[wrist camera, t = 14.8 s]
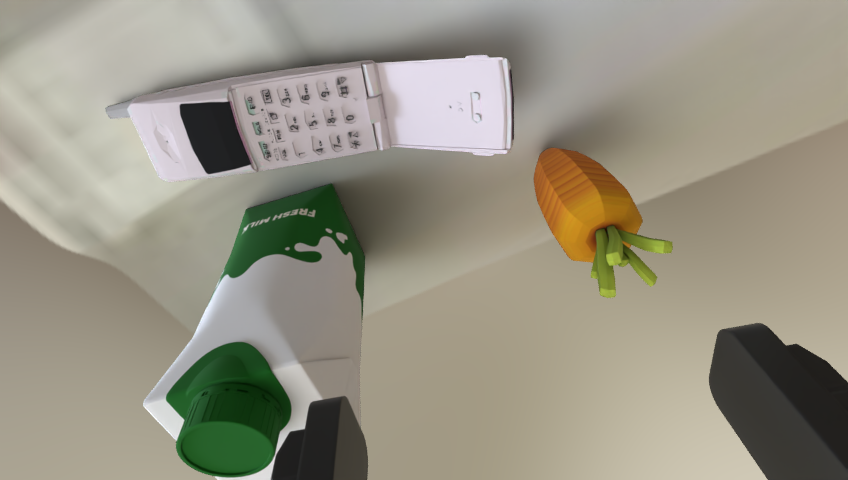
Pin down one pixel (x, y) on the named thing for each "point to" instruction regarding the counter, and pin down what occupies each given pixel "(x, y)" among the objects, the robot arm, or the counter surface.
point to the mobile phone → (324, 115)
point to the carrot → (592, 216)
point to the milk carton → (269, 339)
